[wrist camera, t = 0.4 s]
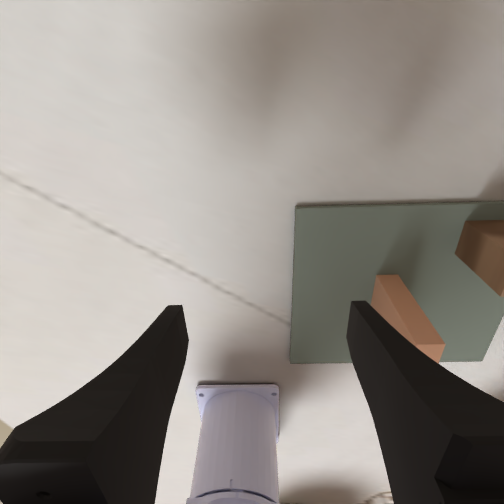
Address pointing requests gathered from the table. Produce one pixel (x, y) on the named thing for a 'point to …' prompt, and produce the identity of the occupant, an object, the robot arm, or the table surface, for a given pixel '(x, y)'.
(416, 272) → the mat
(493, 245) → the two-tone block stack
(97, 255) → the table surface
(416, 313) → the tile
